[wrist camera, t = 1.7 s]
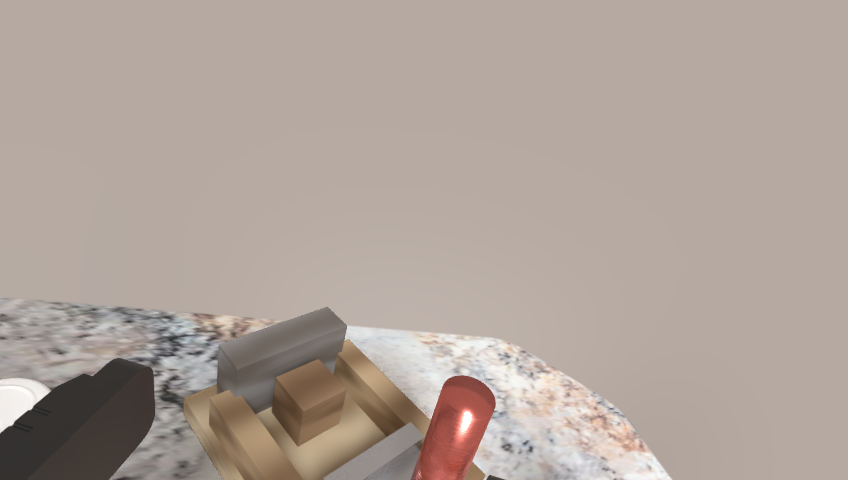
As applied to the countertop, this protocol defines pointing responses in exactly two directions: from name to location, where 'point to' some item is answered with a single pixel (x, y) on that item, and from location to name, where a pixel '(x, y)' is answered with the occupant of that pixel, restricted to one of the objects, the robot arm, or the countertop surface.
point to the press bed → (253, 397)
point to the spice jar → (18, 398)
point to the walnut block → (308, 401)
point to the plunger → (430, 440)
